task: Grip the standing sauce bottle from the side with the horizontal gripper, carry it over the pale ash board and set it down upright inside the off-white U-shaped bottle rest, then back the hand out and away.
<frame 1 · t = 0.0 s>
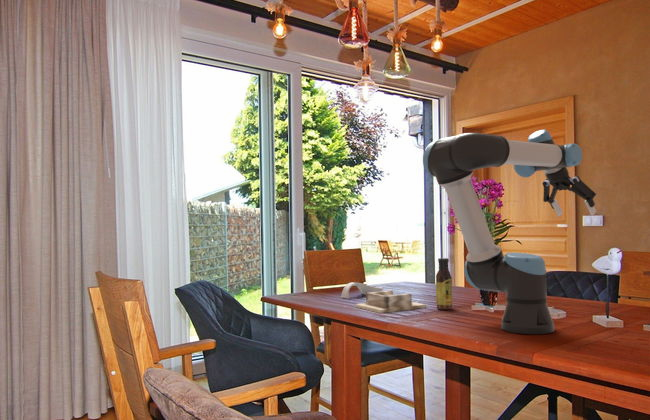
hand: (576, 214, 190), 36 cm above the table, tool tilted 35°, fingers open, 13 cm apart
grey arched piece: (362, 296, 237), on the table
sauce bottle: (444, 309, 194), on the table
U-rest: (390, 307, 201), on the table
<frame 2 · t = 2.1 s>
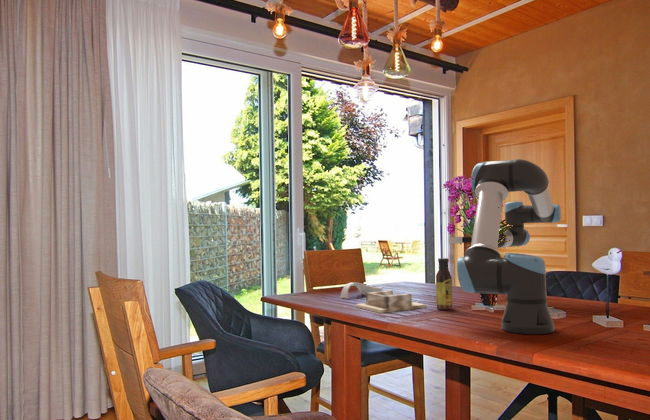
hand: (461, 241, 200), 26 cm above the table, tool horizontal, fingers open, 13 cm apart
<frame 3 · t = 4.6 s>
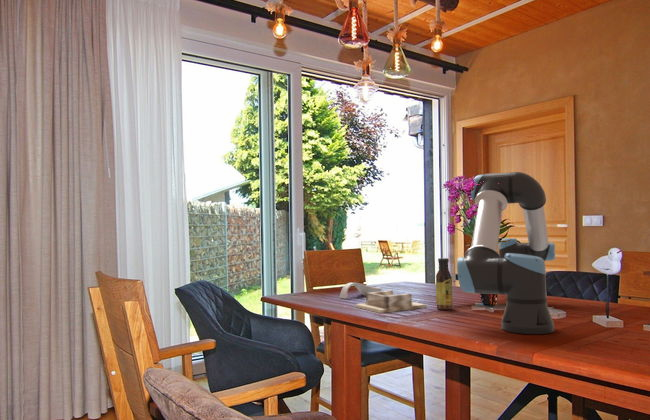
hand: (454, 279, 198), 11 cm above the table, tool horizontal, fingers open, 13 cm apart
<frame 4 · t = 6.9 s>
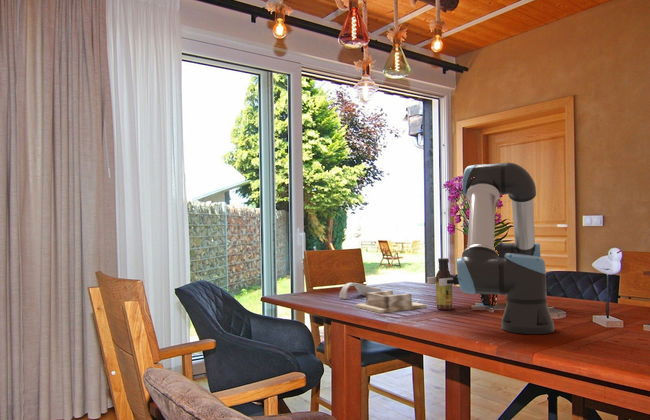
hand: (433, 281, 192), 11 cm above the table, tool horizontal, fingers closed on sauce bottle, 6 cm apart
sauce bottle: (444, 309, 194), on the table, touching gripper
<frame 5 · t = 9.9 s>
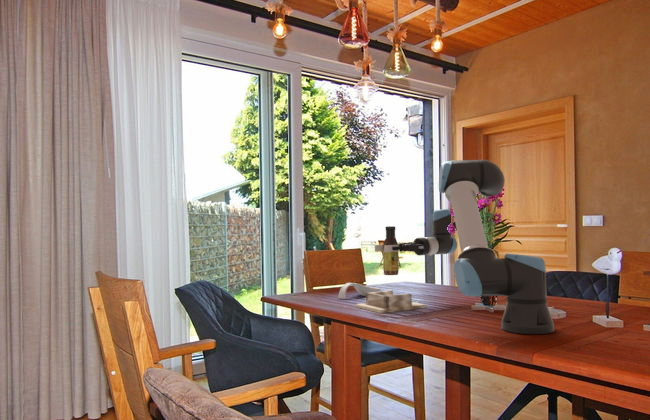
hand: (380, 248, 200), 24 cm above the table, tool horizontal, fingers closed on sauce bottle, 6 cm apart
sauce bottle: (391, 275, 202), point 13 cm above the table, touching gripper
when the fingers open (14 cm above the table, at t = 12.8 s): sauce bottle drops 1 cm, resting on U-rest.
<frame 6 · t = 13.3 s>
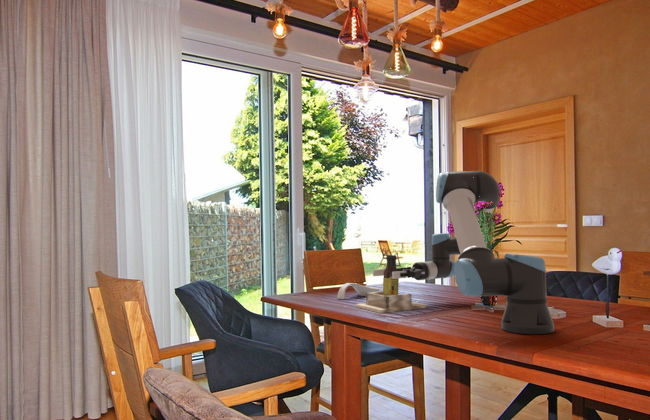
hand: (382, 274, 200), 14 cm above the table, tool horizontal, fingers open, 13 cm apart
sauce bottle: (390, 304, 201), point 1 cm above the table, touching U-rest
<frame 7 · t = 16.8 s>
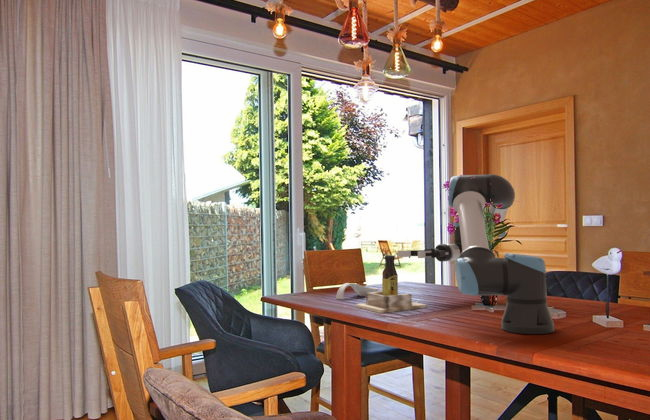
hand: (407, 254, 207), 21 cm above the table, tool horizontal, fingers open, 13 cm apart
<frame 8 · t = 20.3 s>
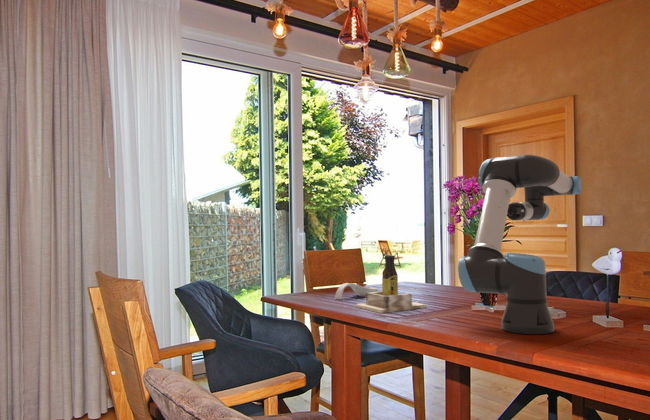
hand: (482, 211, 197), 38 cm above the table, tool horizontal, fingers open, 13 cm apart
at the end: sauce bottle inside the target area on the U-rest (0.1 cm from its centre), point 1.0 cm above the U-rest's base; sauce bottle tilted 0°; the gripper is holding nothing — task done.
